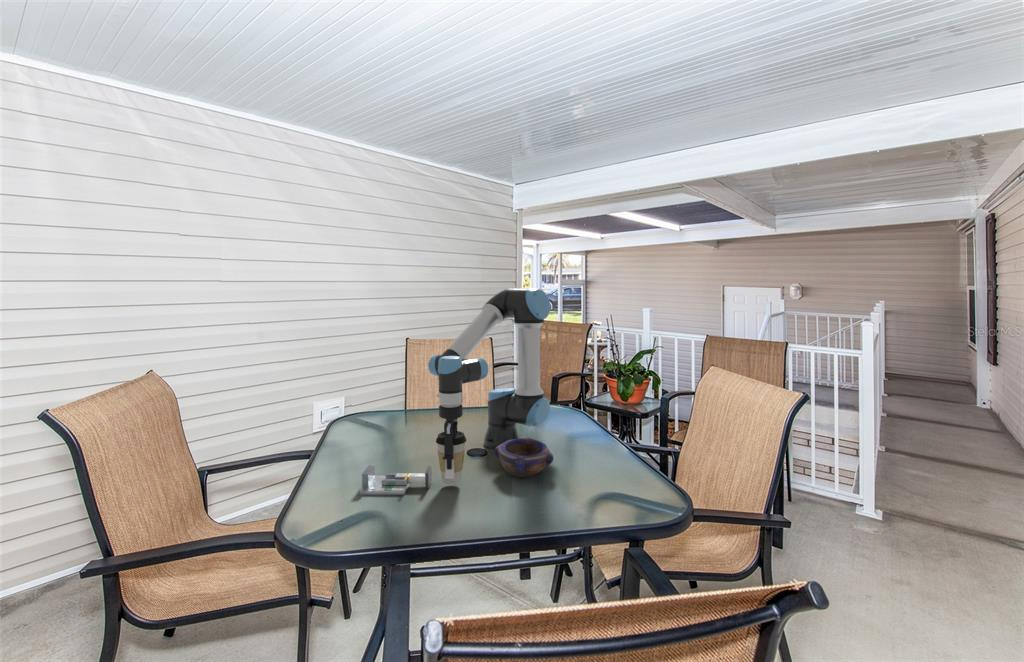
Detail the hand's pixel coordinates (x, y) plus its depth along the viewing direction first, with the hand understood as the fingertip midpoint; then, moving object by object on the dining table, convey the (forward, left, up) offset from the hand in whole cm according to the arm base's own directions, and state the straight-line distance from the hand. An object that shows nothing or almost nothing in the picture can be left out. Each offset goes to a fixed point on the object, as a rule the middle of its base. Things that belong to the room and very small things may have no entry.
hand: (451, 472), depth 150 cm
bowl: (-24, -11, -5) cm, 27 cm away
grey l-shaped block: (+21, 0, -5) cm, 22 cm away
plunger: (+13, +1, -4) cm, 13 cm away
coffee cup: (0, 0, -3) cm, 3 cm away
